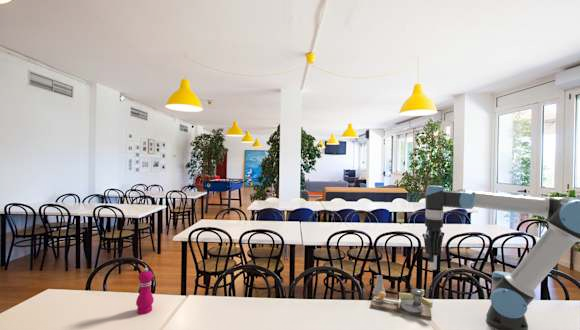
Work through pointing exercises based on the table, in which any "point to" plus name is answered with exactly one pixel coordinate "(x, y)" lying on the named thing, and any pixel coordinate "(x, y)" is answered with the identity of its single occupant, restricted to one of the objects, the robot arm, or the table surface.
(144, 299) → the pepper mill
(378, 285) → the flask
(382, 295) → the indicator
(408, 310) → the cam capstan
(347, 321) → the table surface
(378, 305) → the board
